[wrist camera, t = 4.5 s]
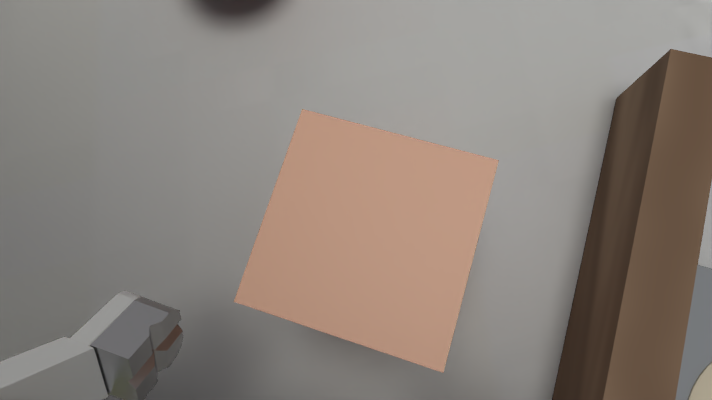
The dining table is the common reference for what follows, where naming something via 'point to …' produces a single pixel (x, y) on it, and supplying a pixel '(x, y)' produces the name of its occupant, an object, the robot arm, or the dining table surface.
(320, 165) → the post
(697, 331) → the mat
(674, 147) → the low wall
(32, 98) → the dining table surface
